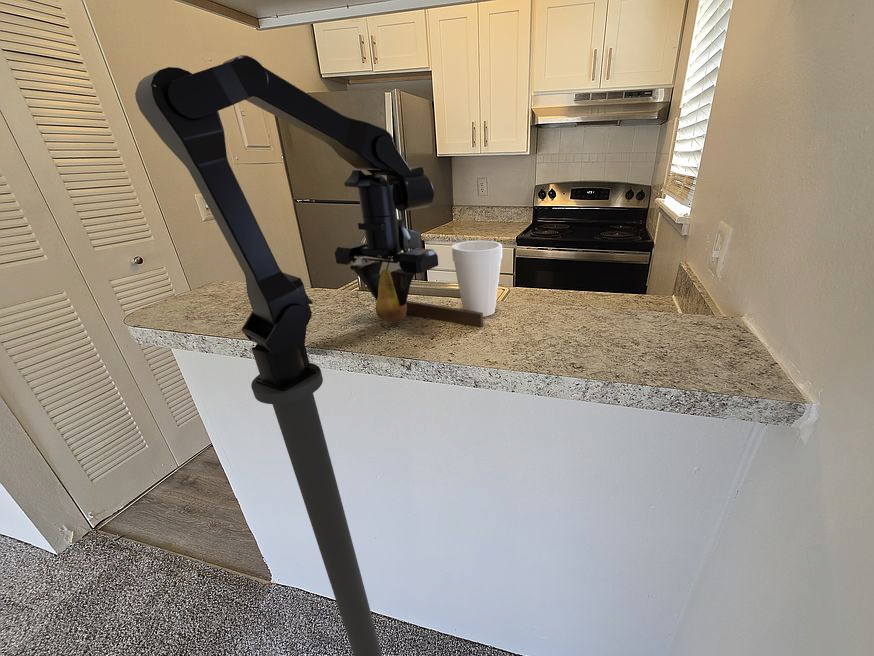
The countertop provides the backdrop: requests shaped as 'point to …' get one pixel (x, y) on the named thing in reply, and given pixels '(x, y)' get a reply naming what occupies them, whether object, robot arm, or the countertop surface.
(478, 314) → the rail
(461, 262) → the foam cup
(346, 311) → the countertop surface
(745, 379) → the countertop surface
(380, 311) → the fruit
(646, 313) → the countertop surface
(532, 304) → the countertop surface
